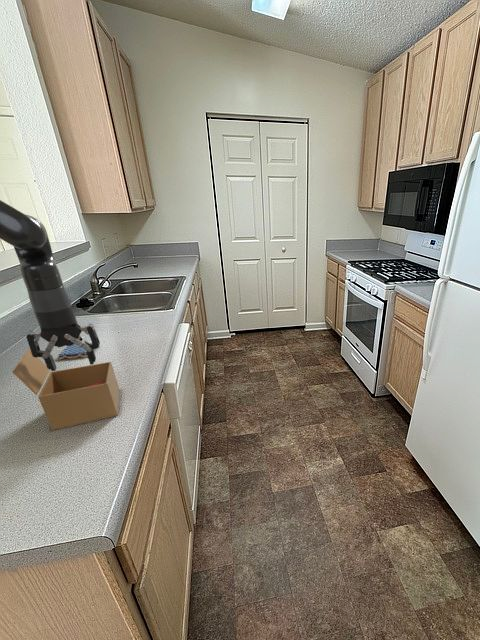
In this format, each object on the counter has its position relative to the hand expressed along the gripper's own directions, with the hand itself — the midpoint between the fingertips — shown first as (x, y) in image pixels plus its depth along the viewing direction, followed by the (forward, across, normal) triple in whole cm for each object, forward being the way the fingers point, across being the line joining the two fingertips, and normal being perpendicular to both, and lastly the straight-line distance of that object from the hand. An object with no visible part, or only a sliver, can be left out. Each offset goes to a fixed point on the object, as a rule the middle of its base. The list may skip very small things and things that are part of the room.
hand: (73, 366), depth 86 cm
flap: (-1, -8, 0) cm, 9 cm away
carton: (+13, 0, 0) cm, 13 cm away
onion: (+12, 0, 0) cm, 12 cm away
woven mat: (+14, -8, +44) cm, 47 cm away
